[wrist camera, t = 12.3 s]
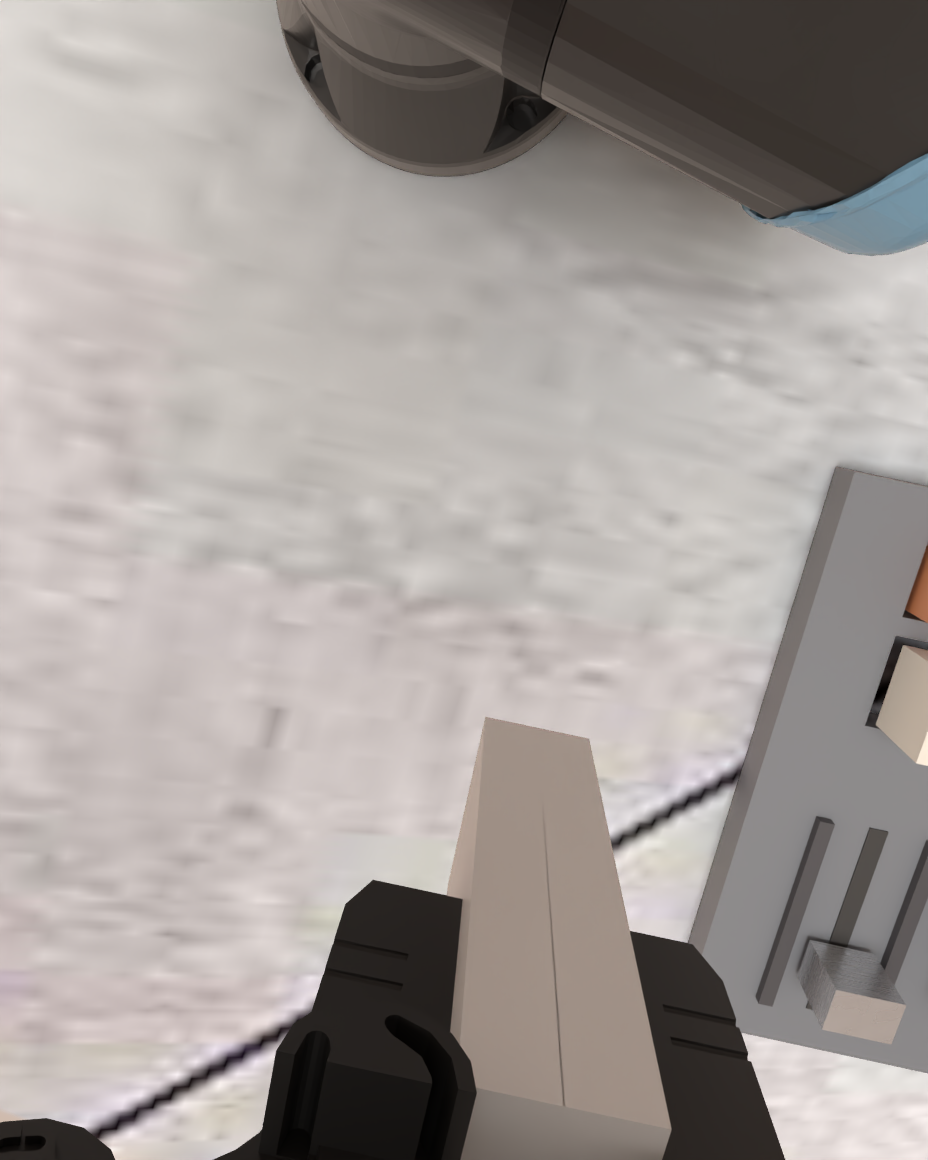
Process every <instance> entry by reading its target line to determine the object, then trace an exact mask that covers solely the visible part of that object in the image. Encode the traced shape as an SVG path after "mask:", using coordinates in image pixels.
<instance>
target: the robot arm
mask: <svg viewBox="0 0 928 1160" xmlns="http://www.w3.org/2000/svg"><path fill="white" fill-rule="evenodd" d="M276 2H277V9H278V15H279V20H280V24H281V29H282V33H283V36H284V39H285V43H286V46H287V49H288V52H289V54H290V57H291V60H292V62H293V64H294V66H295V69H296V71H297V73H298V75H299V77H300V78H301V80H302V82H303V84H304V86H305V87H306V89H307V90H308V92H309V93H310V95H311V96H312V98H313V99H314V101H315V102H316V104H317V105H318V106H319V108H320V109H321V110H322V112H323V113H324V115H325V116H326V117H327V118H328V120H329V121H330V122H331V123H332V124H333V125H334V127H335V128H336V129H337V130H338V131H339V132H340V133H341V134H342V135H343V136H345V137H346V138H347V139H348V140H349V141H350V142H351V143H353V144H354V145H355V146H357V147H358V148H359V149H361V150H362V151H364V152H365V153H367V154H369V155H370V156H372V157H374V158H376V159H377V160H379V161H381V162H383V163H386V164H388V165H390V166H393V167H395V168H398V169H401V170H404V171H408V172H412V173H417V174H423V175H431V176H459V175H466V174H473V173H477V172H481V171H485V170H488V169H491V168H494V167H497V166H499V165H502V164H504V163H506V162H508V161H510V160H512V159H514V158H516V157H518V156H520V155H521V154H523V153H524V152H526V151H528V150H529V149H530V148H532V147H533V146H535V145H536V144H537V143H539V142H540V141H541V140H542V139H543V138H545V137H546V136H547V135H548V134H549V133H550V132H551V131H552V130H553V129H554V128H555V127H556V126H557V125H558V124H559V123H560V121H561V120H562V119H563V118H564V117H565V116H566V114H567V113H570V114H572V115H574V116H576V117H578V118H580V119H582V120H583V121H585V122H587V123H589V124H591V125H593V126H595V127H597V128H599V129H600V130H602V131H604V132H606V133H608V134H610V135H612V136H614V137H616V138H618V139H619V140H621V141H623V142H625V143H627V144H629V145H631V146H633V147H635V148H636V149H638V150H640V151H642V152H644V153H646V154H648V155H650V156H652V157H653V158H655V159H657V160H659V161H661V162H663V163H665V164H667V165H669V166H670V167H672V168H674V169H676V170H678V171H680V172H682V173H684V174H686V175H687V176H689V177H691V178H693V179H695V180H697V181H699V182H701V183H703V184H705V185H706V186H708V187H710V188H712V189H714V190H716V191H718V192H720V193H722V194H723V195H725V196H727V197H729V198H731V199H733V200H735V201H737V202H739V203H740V204H741V205H742V207H743V209H744V210H745V211H746V212H747V213H748V214H749V215H750V216H751V217H753V218H754V219H756V220H758V221H759V222H762V223H764V224H766V223H769V224H772V225H774V226H776V227H789V228H791V229H793V230H795V231H797V232H800V233H802V234H804V235H806V236H808V237H810V238H813V239H815V240H817V241H819V242H821V243H823V244H825V245H828V246H830V247H832V248H834V249H836V250H839V251H841V252H844V253H848V254H859V255H868V256H874V255H889V254H894V253H897V252H901V251H905V250H908V249H911V248H914V247H916V246H919V245H922V244H924V243H927V242H928V0H276ZM747 1056H748V1051H747V1049H746V1046H745V1043H744V1040H743V1037H742V1034H741V1031H740V1029H739V1027H736V1017H735V1014H734V1011H733V1008H732V1006H731V1003H730V1000H729V997H728V994H727V991H726V988H725V985H724V983H723V980H722V979H721V978H720V977H719V976H718V974H717V973H716V972H715V971H714V969H713V968H712V967H711V966H710V965H709V963H708V962H707V961H706V960H705V959H704V957H703V956H702V955H701V954H700V953H699V951H698V950H697V949H696V948H695V946H694V945H693V944H689V943H684V942H679V941H675V940H670V939H665V938H660V937H656V936H651V935H646V934H642V933H637V932H632V931H630V930H629V926H628V921H627V916H626V911H625V907H624V902H623V897H622V893H621V888H620V883H619V878H618V874H617V869H616V864H615V860H614V855H613V850H612V845H611V841H610V836H609V831H608V826H607V822H606V817H605V812H604V808H603V803H602V798H601V793H600V789H599V784H598V779H597V774H596V770H595V765H594V760H593V756H592V751H591V746H590V741H589V739H587V738H583V737H578V736H573V735H568V734H564V733H559V732H554V731H549V730H545V729H540V728H535V727H531V726H526V725H521V724H516V723H512V722H507V721H502V720H497V719H493V718H488V717H485V721H484V726H483V730H482V735H481V739H480V744H479V748H478V753H477V757H476V762H475V766H474V771H473V775H472V780H471V784H470V789H469V793H468V797H467V802H466V806H465V811H464V815H463V820H462V824H461V829H460V833H459V838H458V842H457V847H456V851H455V856H454V860H453V865H452V869H451V874H450V878H449V882H448V889H447V896H446V895H442V894H437V893H432V892H428V891H423V890H418V889H413V888H409V887H404V886H399V885H395V884H390V883H385V882H380V881H376V880H372V881H371V882H370V883H369V884H368V885H367V886H366V887H364V888H363V889H362V890H361V891H360V892H359V893H358V894H357V895H355V896H354V897H353V898H352V899H351V900H350V901H349V902H347V903H346V904H345V907H344V910H343V914H342V917H341V920H340V923H339V926H338V929H337V933H336V936H335V939H334V944H333V945H332V948H331V952H330V955H329V958H328V961H327V964H326V968H325V972H324V975H323V977H322V980H321V983H320V987H319V990H318V993H317V996H316V999H315V1002H314V1006H313V1009H312V1012H311V1013H309V1014H308V1015H306V1016H305V1017H303V1018H302V1019H300V1020H299V1021H297V1022H296V1023H294V1024H293V1025H292V1027H291V1029H290V1030H289V1032H288V1033H287V1035H286V1036H285V1038H284V1040H283V1041H282V1043H281V1044H280V1046H279V1047H278V1049H277V1051H276V1056H275V1061H274V1067H273V1072H272V1078H271V1083H270V1089H269V1095H268V1100H267V1106H266V1111H265V1117H264V1122H263V1128H262V1130H261V1131H260V1133H258V1134H257V1135H256V1136H254V1137H253V1138H252V1139H250V1140H249V1141H247V1142H246V1143H245V1144H243V1145H242V1146H240V1147H239V1148H238V1149H236V1150H234V1151H232V1152H230V1153H227V1154H225V1155H223V1156H220V1157H218V1158H216V1159H214V1160H785V1158H784V1155H783V1152H782V1149H781V1146H780V1143H779V1140H778V1138H777V1135H776V1132H775V1129H774V1126H773V1123H772V1120H771V1118H770V1115H769V1112H768V1109H767V1106H766V1103H765V1100H764V1097H763V1095H762V1092H761V1089H760V1086H759V1083H758V1080H757V1077H756V1074H755V1072H754V1069H753V1066H752V1063H751V1062H750V1061H748V1060H747ZM0 1160H115V1158H114V1156H113V1154H112V1151H111V1149H110V1148H108V1147H107V1146H106V1145H105V1144H103V1143H102V1142H101V1141H100V1140H98V1139H97V1138H96V1137H95V1136H93V1135H92V1134H91V1133H89V1132H88V1131H87V1130H86V1129H84V1128H82V1127H79V1126H75V1125H71V1124H67V1123H63V1122H59V1121H55V1120H51V1119H47V1118H44V1119H31V1120H19V1121H8V1122H1V1123H0Z"/></svg>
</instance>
